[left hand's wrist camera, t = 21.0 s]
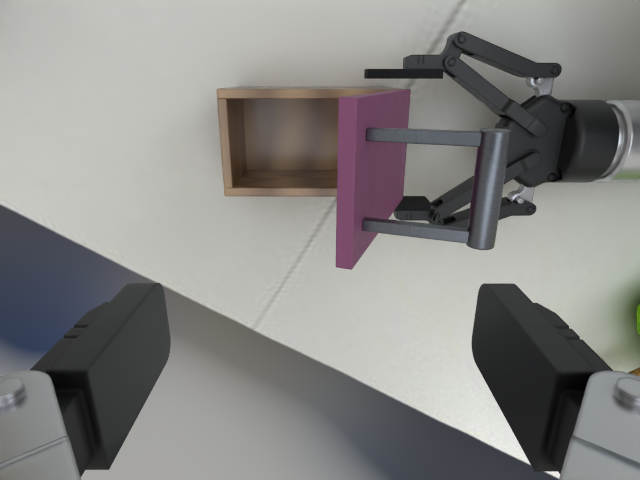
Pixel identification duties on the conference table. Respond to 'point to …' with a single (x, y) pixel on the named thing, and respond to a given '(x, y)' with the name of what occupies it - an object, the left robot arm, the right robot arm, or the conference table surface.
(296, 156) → the chest
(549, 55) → the conference table surface
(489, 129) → the lid
